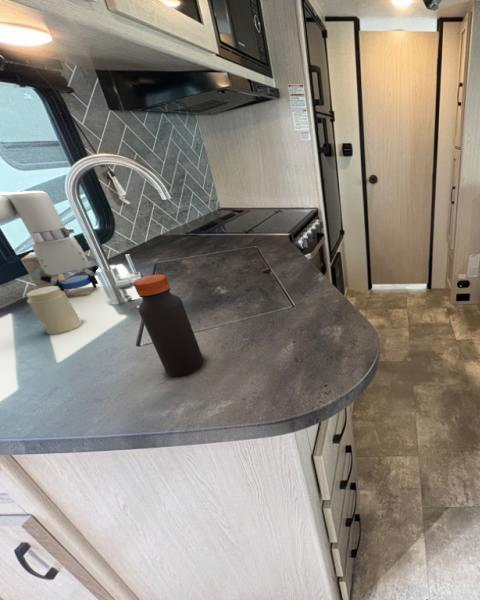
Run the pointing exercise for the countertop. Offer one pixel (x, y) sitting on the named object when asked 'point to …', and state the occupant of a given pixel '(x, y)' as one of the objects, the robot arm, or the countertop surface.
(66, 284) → the jam lid
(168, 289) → the bottle
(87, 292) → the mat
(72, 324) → the jam jar
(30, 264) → the supplement box
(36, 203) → the robot arm
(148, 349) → the countertop surface
